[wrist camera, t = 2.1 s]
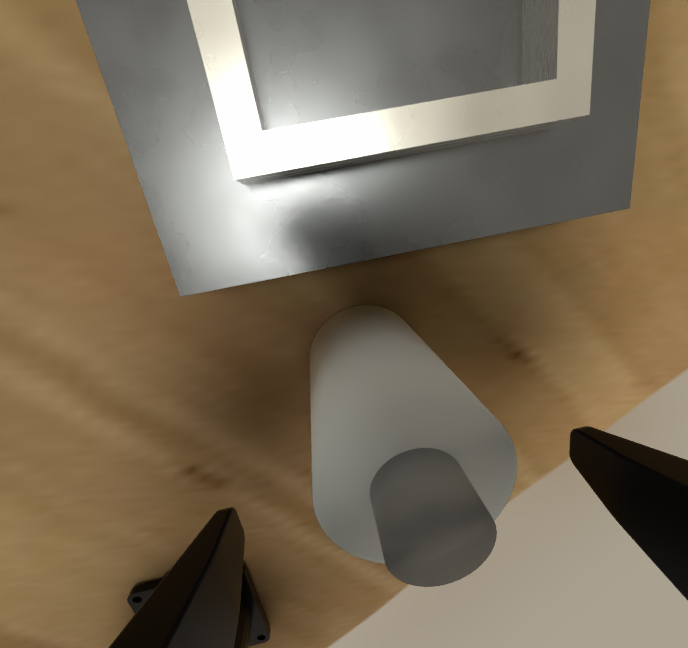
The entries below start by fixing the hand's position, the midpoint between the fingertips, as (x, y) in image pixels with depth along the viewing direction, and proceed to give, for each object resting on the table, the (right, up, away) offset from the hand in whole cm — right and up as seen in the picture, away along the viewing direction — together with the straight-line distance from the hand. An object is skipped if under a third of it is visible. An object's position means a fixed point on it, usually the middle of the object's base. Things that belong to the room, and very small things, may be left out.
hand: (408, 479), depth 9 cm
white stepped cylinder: (-1, +2, +7) cm, 8 cm away
